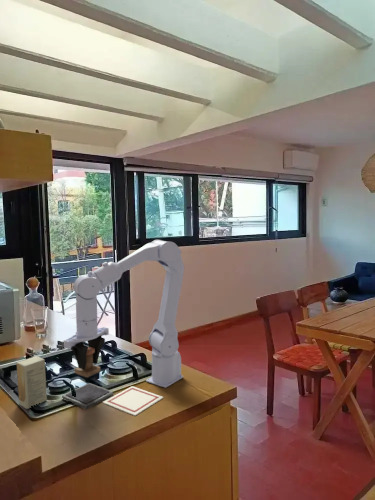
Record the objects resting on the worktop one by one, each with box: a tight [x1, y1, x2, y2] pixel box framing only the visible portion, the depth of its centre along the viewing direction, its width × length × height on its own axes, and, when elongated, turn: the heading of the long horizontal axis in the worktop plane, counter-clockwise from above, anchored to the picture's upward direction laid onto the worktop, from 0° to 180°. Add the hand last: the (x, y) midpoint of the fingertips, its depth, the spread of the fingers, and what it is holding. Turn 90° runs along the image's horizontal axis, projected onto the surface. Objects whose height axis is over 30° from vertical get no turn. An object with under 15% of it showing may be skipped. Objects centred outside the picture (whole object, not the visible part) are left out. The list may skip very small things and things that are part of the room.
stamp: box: [74, 346, 101, 378], centre depth 110 cm, size 5×5×7 cm
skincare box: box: [16, 355, 48, 410], centre depth 107 cm, size 6×4×12 cm
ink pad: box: [61, 382, 114, 410], centre depth 111 cm, size 10×10×1 cm
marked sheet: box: [102, 386, 164, 417], centre depth 110 cm, size 12×12×1 cm
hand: (88, 365), depth 111 cm, fingers closed on stamp, 4 cm apart
